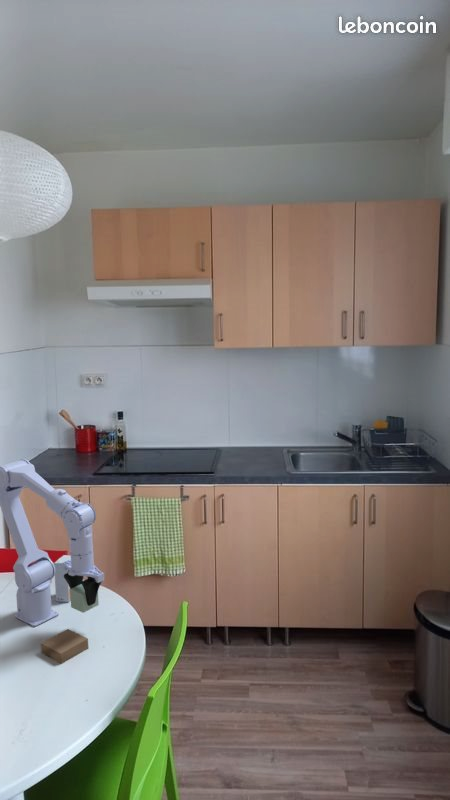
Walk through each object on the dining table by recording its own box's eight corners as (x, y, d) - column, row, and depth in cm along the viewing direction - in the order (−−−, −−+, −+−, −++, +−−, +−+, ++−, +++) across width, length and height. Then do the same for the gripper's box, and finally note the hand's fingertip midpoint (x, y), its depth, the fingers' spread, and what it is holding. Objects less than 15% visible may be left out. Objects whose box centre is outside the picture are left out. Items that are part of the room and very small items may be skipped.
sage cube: (71, 607, 148) (70, 589, 147) (86, 599, 151) (85, 582, 151) (83, 612, 145) (82, 594, 144) (98, 605, 148) (97, 587, 148)
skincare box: (69, 602, 165) (66, 563, 163) (55, 601, 166) (53, 562, 164) (78, 593, 171) (76, 555, 169) (65, 592, 171) (63, 554, 170)
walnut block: (41, 654, 139) (40, 643, 139) (68, 639, 146) (67, 628, 145) (61, 665, 135) (61, 653, 134) (88, 649, 141) (87, 638, 140)
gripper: (51, 550, 147) (54, 599, 149) (87, 563, 139) (90, 615, 140) (73, 541, 153) (76, 589, 155) (109, 553, 144) (112, 603, 146)
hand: (84, 601), depth 148 cm, fingers closed on sage cube, 5 cm apart
